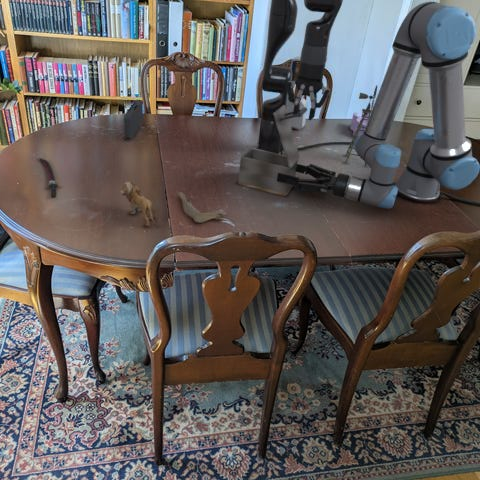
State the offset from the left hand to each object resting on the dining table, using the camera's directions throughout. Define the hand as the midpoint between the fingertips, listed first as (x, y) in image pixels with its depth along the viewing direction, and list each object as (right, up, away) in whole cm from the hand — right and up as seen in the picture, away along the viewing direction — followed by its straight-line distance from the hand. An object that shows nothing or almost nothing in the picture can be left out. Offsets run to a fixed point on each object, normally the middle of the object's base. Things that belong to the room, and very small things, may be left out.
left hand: (303, 117), depth 146 cm
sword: (-82, -18, +5) cm, 84 cm away
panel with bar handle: (-5, -5, +5) cm, 9 cm away
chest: (-11, -19, +16) cm, 27 cm away
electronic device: (+3, +14, +70) cm, 72 cm away
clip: (+38, +11, +70) cm, 80 cm away
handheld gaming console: (-64, +7, +47) cm, 80 cm away
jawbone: (-32, -28, -2) cm, 43 cm away
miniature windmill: (+27, -6, +42) cm, 50 cm away
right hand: (-6, -15, +12) cm, 20 cm away
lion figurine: (-49, -31, -10) cm, 59 cm away
